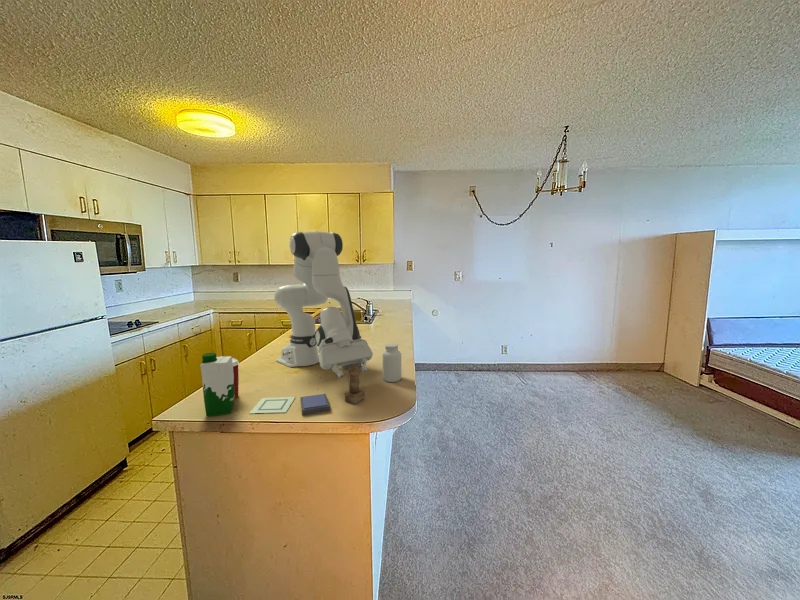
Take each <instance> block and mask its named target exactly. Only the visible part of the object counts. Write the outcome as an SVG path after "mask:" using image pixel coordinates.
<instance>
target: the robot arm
mask: <svg viewBox="0 0 800 600" xmlns="http://www.w3.org/2000/svg"><path fill="white" fill-rule="evenodd" d="M343 243H344V242H343V239H342V237H341V235H339V233H336V232H332V231H331V232H328V231H304V232H302V231H299V232H294V233H292V234H291V235H290V238H289V249H290V252H291V254H292V255H293V256H294V259H293V260H294V261H293V268H292V269H293V270H292V273H293V276H294V277H295V279H296V280H297V281H299V282H301V283H300V284H298V283H297V284H286V285H282V286H279V287H278V288H276V290H275V292H274V294H273V295H274V302H275V304H277V306H278V307H280V309H283V310H284V311H285V312H286V313H287V314H288V316H289V319H290V322H291V333H292V335H290V336H288V338H289V339H290V341H289V342H288V343H287V344H286V345H285V346H284V347H283V348H282V349H281V352H280V353H281V355H280V356H279V357H277V358H276V362H278V363H280V364H282V365H284V366H287V367H289V368H295V367H296V368H297V367H307V366H311V365H317V364H318V363H319V366H320V368H321V369H323V370H329V369H331V370H332V371H333V372H334V373H335V374H336V375H337V377H338V378H342V377H343V376H344V373H343V370H340V368H339V367H342V366H344V365H349V364H354V363H359V362H361V365H362V366H361V368H360V371H361V372H362V373H365V372H366V373H367V371H368V369H367V362H368V361H370V360H371V359H372V358H373V355H374V354H373V351H372V349H371V347H370V346H369V344H368V342H367V340H365V339H363V338H361V339H360V336H361V334H360V330H359V327H358V324H357V321H356V316H355V311H354V306H353V302H352V297H351V294H350V290H349V289H348V287H347V286H345V285H343V282H342V280H341V274H340V264H339V259H338V256H340V255H341V254H342V251H343V248H344V247H343V246H344V244H343ZM328 299H332V300H335V301H336V302H338V304H339V306H340V308H341V311H340V309H339V308H338V307H336V306H331V307H326V308H324V309H322V310H321V311H320V313H319V317H320V325H319V326H318V328H317V329H316V319H315V317H314V315H312V314H310V313H308V312H305V311H304V310H303V308H304V307H317V306H320V305H323V304H325V303H326V302H327V301H328Z"/></svg>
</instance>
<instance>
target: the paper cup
mask: <svg viewBox="0 0 800 600" xmlns="http://www.w3.org/2000/svg"><path fill="white" fill-rule="evenodd" d="M232 364H233V373H234V387H235V399H237V398H238V397H239V380H240V379H239V378H240V377H239V364H240V361H239V360H238V359H237V358H234V357H232ZM236 397H237V398H236Z"/></svg>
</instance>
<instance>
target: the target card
mask: <svg viewBox="0 0 800 600" xmlns="http://www.w3.org/2000/svg"><path fill="white" fill-rule="evenodd" d="M295 399H296V396H286V397H282V396H281V397H279V396H278V397H262V398H260V400H259V402H257V404H256V405H255V406H254V407H253V408H252V409H251V410H250V412H249V415H255V413H264V414H287V412H288V411H289V409H290V407H291V406H290V405H292V404H293V402H294V401H295Z"/></svg>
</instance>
